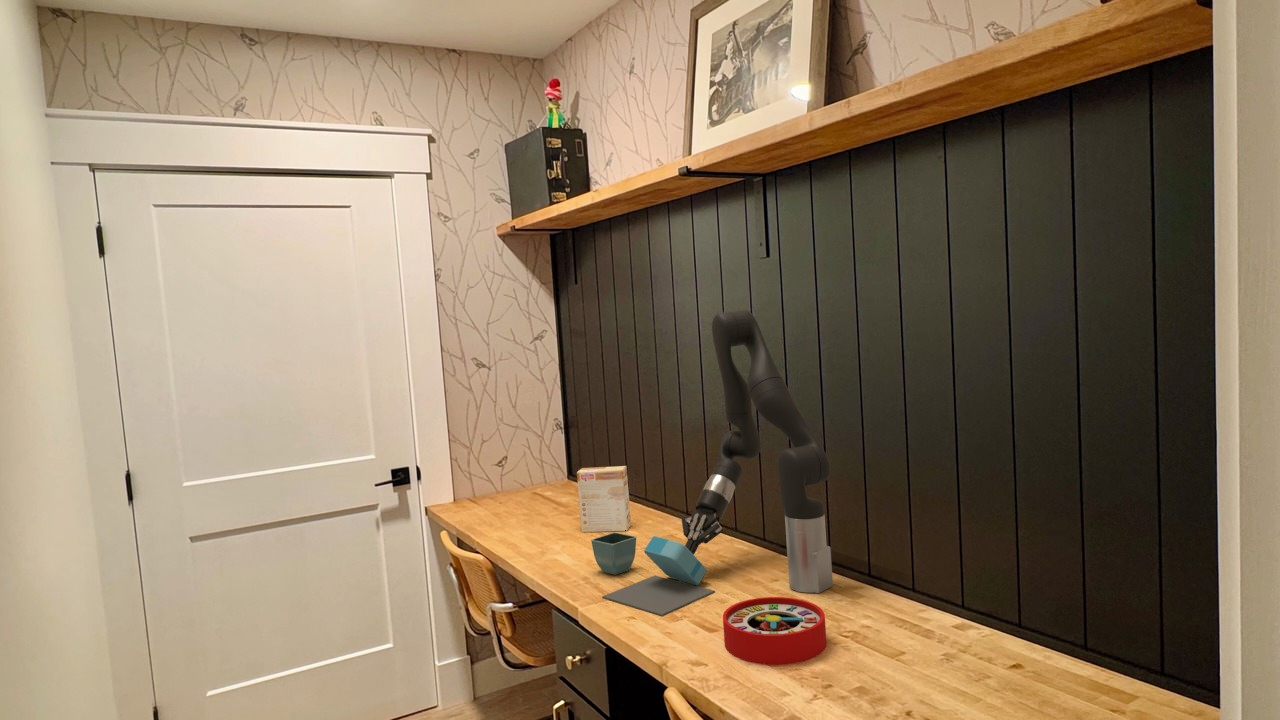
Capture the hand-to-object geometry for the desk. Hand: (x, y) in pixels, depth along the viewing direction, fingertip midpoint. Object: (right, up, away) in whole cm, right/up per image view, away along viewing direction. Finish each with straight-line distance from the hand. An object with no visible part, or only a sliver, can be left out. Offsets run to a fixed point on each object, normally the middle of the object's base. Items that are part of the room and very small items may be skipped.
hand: (687, 554), depth 197 cm
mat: (-7, -7, -9) cm, 14 cm away
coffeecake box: (-22, -5, +55) cm, 59 cm away
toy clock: (+15, -8, -40) cm, 44 cm away
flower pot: (-18, -7, +12) cm, 23 cm away
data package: (0, -5, 0) cm, 5 cm away
